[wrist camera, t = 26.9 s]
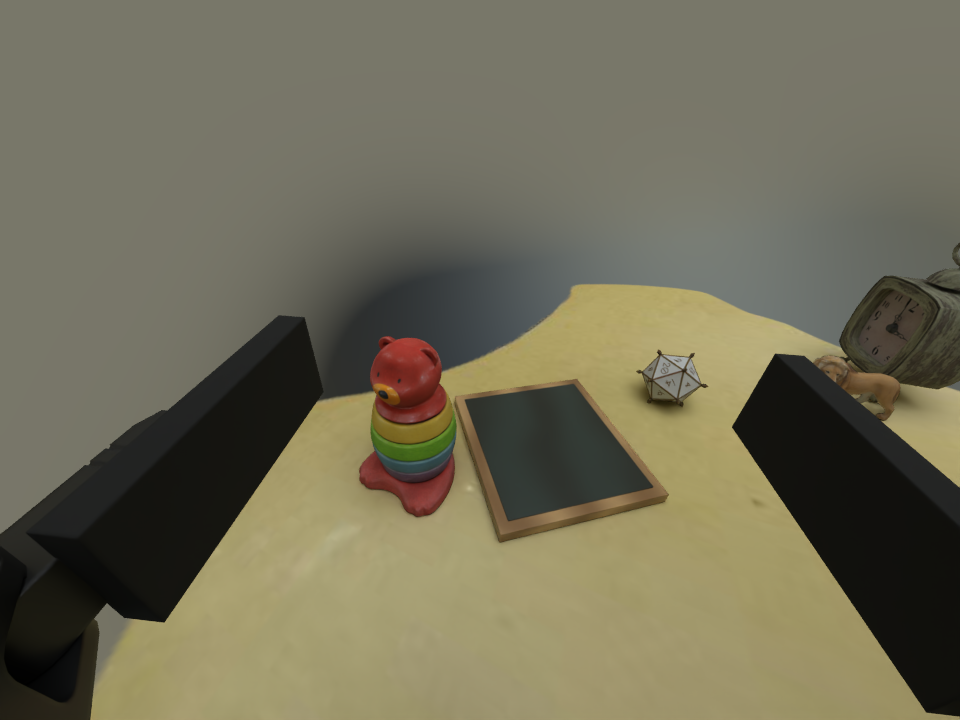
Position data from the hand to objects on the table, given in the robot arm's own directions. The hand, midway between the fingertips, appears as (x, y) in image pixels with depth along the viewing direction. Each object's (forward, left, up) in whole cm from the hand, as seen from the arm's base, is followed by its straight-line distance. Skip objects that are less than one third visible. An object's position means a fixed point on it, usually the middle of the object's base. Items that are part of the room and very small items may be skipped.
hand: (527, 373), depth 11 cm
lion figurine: (-63, -19, -30) cm, 72 cm away
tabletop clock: (-76, -22, -30) cm, 85 cm away
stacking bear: (+2, -22, -30) cm, 37 cm away
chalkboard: (-15, -22, -30) cm, 40 cm away
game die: (-37, -27, -30) cm, 55 cm away
